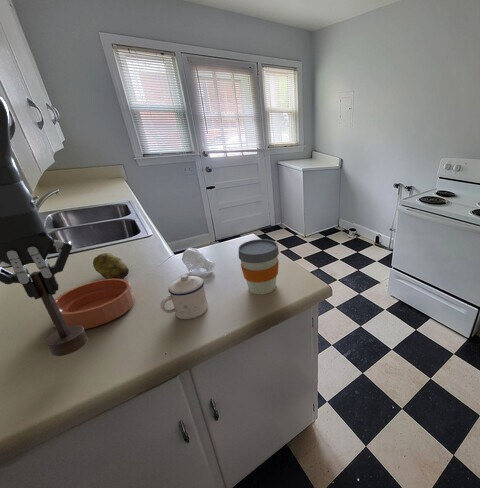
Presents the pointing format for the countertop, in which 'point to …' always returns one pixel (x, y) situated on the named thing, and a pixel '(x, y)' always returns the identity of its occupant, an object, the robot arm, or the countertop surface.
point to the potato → (110, 266)
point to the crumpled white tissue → (196, 260)
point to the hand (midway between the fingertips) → (45, 294)
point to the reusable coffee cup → (259, 264)
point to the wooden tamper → (59, 323)
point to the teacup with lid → (187, 297)
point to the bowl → (95, 302)
